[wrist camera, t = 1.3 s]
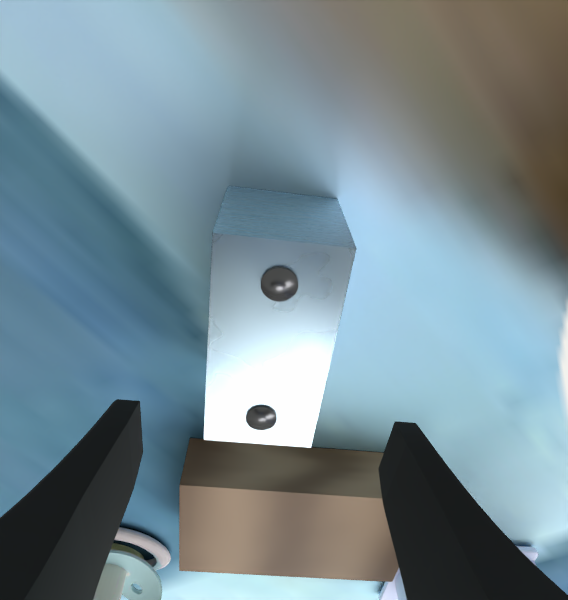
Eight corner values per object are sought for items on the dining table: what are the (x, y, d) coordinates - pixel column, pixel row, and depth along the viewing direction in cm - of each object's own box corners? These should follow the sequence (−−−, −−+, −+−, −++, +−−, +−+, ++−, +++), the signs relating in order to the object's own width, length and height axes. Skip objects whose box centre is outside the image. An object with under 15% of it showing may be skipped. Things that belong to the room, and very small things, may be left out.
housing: (337, 197, 18) (357, 250, 13) (304, 368, 22) (311, 449, 18) (228, 184, 17) (212, 233, 13) (218, 361, 22) (203, 441, 18)
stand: (414, 455, 25) (430, 501, 23) (382, 534, 29) (392, 581, 27) (189, 437, 24) (179, 485, 22) (188, 522, 29) (179, 570, 26)
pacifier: (87, 506, 28) (56, 554, 30) (43, 615, 23) (9, 663, 25) (190, 540, 30) (153, 582, 33) (172, 647, 25) (130, 689, 27)
